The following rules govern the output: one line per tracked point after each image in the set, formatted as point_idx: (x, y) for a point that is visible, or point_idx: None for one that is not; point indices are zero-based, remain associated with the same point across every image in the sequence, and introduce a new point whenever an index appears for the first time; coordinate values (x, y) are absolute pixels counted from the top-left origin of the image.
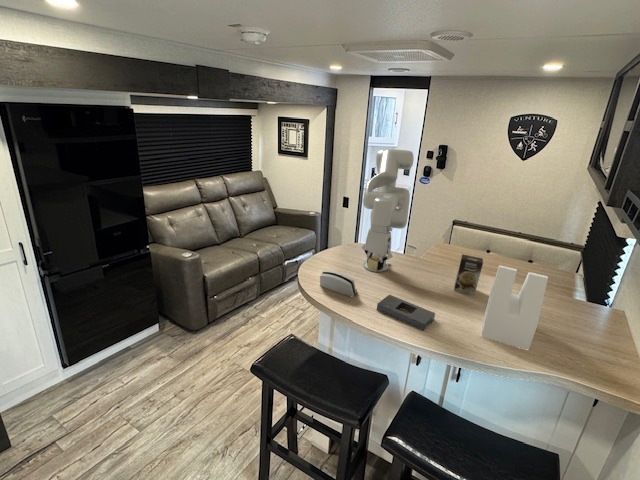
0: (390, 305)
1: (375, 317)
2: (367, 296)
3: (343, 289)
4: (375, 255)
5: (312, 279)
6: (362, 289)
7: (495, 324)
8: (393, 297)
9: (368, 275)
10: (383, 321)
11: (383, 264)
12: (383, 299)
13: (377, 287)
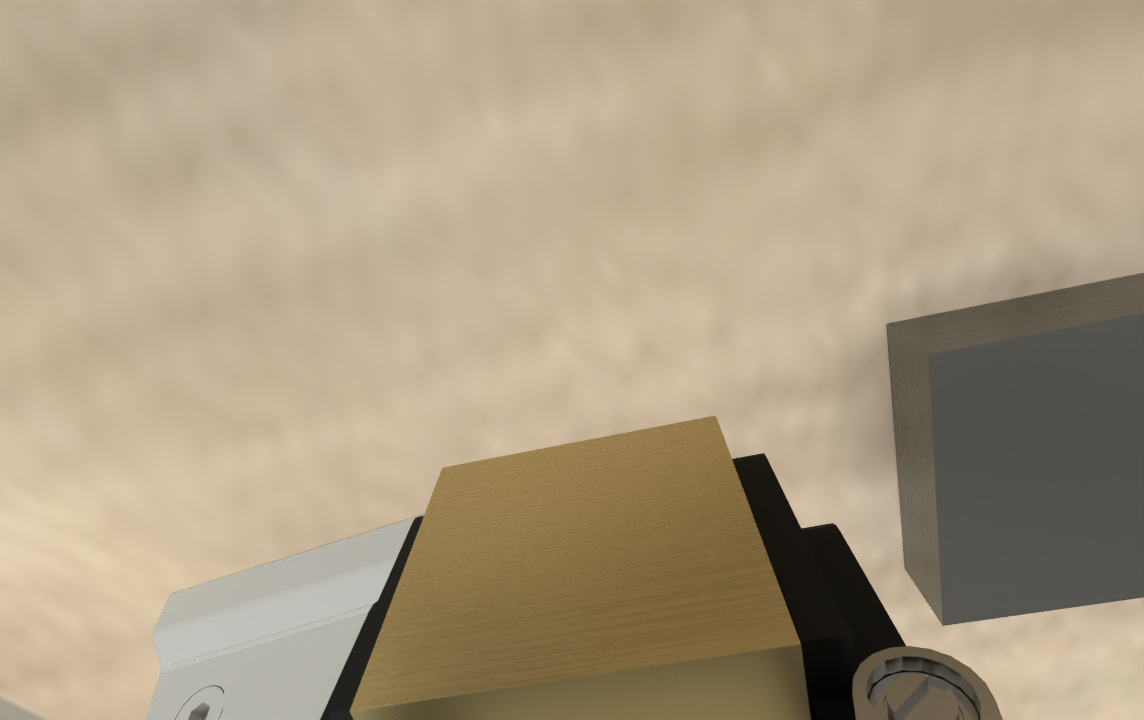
0: (1086, 542)
1: (972, 657)
2: None
3: None
4: (425, 705)
5: (84, 665)
6: (504, 391)
7: None
8: (1015, 369)
9: (212, 7)
10: (1068, 648)
11: (872, 597)
12: (943, 513)
13: (569, 183)
